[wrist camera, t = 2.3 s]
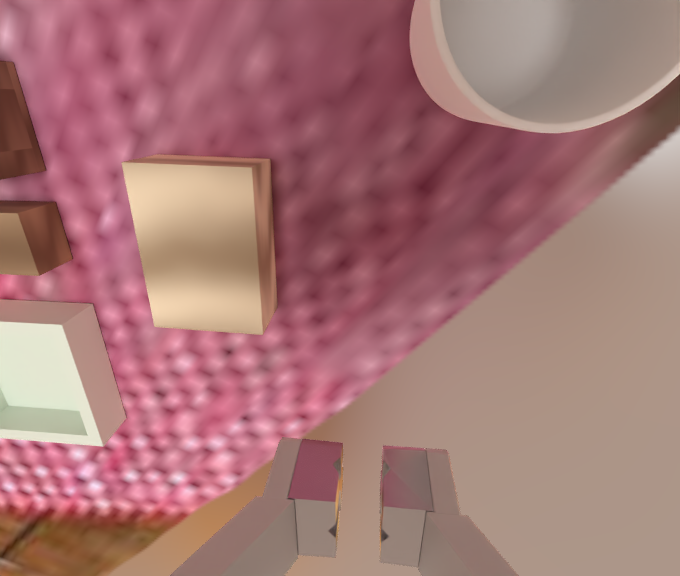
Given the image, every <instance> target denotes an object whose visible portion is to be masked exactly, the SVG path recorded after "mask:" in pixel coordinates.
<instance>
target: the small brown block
mask: <svg viewBox="0 0 680 576" xmlns="http://www.w3.org/2000/svg"><path fill="white" fill-rule="evenodd" d="M72 259H73V258H72V255H71V251H70V248H69V245H68V241H67V238H66V235H65V231H64V228H63V225H62V222H61V218H60V215H59V212H58V208H57V205H56V202H38V201H0V274H11V275H34V276H40V275H42V274H44V273H46V272H48V271H50V270H52V269H54V268H56V267H58V266H60V265H62V264H64V263H66V262H68V261H70V260H72Z"/></svg>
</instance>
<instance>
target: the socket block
mask: <svg viewBox="0 0 680 576" xmlns="http://www.w3.org/2000/svg"><path fill="white" fill-rule="evenodd" d="M41 171H46V169H45V166H44V162H43V159H42V156H41V152H40V149H39V146H38V143H37V139H36V136H35V133H34V129H33V126H32V123H31V119H30V116H29V113H28V110H27V106H26V103H25V100H24V96H23V93H22V90H21V86H20V83H19V80H18V77H17V73H16V70H15V67H14V63H13V62H6V61H0V180H1V179H6V178H11V177H16V176H21V175H26V174H31V173H36V172H41Z"/></svg>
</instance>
